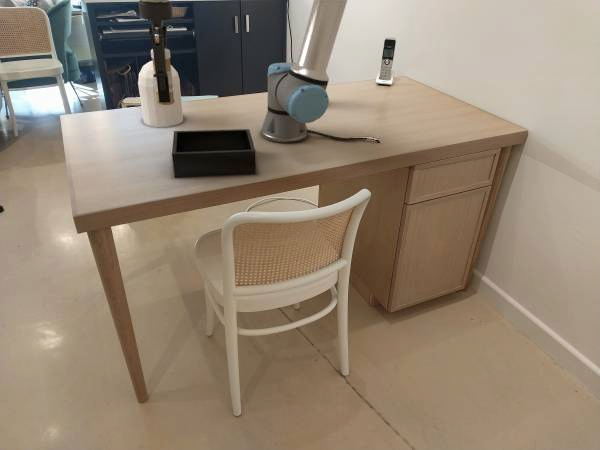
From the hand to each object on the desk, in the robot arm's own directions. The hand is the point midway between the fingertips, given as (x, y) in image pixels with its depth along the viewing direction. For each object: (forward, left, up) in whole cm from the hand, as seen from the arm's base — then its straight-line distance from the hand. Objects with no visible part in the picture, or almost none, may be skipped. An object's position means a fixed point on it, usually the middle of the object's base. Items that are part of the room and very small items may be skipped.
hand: (165, 98), depth 117 cm
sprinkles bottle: (0, 0, -1) cm, 1 cm away
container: (+4, -36, -19) cm, 41 cm away
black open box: (-12, 0, -19) cm, 22 cm away
